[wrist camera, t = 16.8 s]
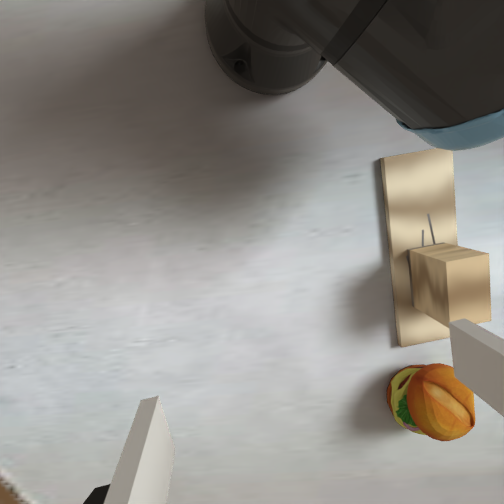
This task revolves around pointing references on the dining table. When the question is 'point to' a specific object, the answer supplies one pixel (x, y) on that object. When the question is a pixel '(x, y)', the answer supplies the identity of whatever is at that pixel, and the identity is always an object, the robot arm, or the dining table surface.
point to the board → (417, 229)
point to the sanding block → (450, 283)
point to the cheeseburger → (431, 402)
